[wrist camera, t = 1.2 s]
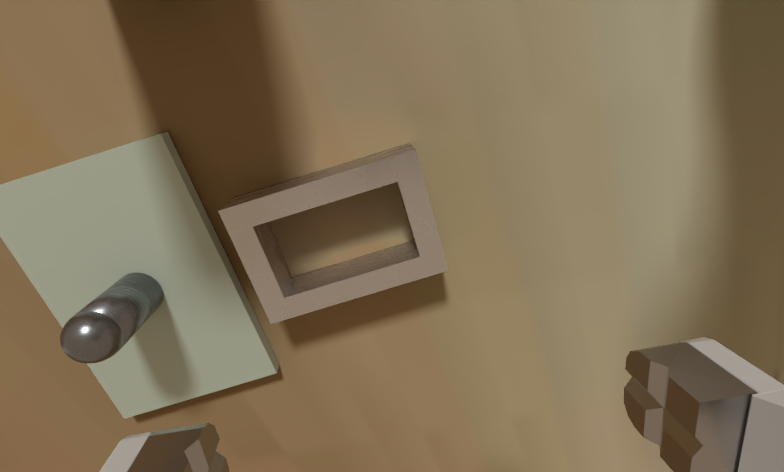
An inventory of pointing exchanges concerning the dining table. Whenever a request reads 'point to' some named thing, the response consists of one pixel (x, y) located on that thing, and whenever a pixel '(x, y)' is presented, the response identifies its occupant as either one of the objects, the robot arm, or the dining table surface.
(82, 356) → the post
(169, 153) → the keeper plate
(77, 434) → the dining table surface
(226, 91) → the dining table surface
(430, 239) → the rectangular frame
